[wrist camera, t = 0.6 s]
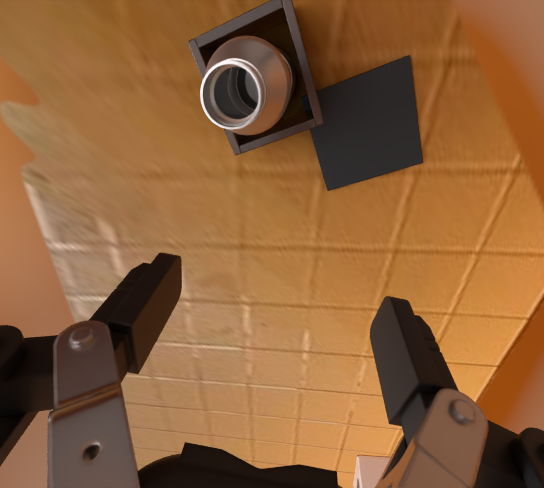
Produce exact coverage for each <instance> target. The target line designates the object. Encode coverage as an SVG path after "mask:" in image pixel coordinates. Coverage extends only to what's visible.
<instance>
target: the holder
mask: <svg viewBox="0 0 544 488" xmlns="http://www.w3.org/2000/svg"><path fill="white" fill-rule="evenodd" d="M286 20H287V22H288V26H289V29H290V33H291V36H292V40H293V44H294V47H295V51H296V55H297V58H298V62H299V65H300V69H301V73H302V76H303V80H304V84H305V87H306V91H307V94H308V98H309V102H310V105H311V109H309V110H307V111H303V112H300V113H297V114H295V115H292V116H289V117H287V118H284V119H281V120H279V121H278V122H277V123H276V124H274V125H273V126H272V127H271V128H269V129H268V130H266V131H264V132H262V133H259V134H255V135H241V134H237V133H234V132H231V131H230V130H228V129H225V128H224V130H225V133H226V135H227V137H228V140H229V142H230V145H231V147H232V149H233V152H234V154H235V155H239V154H241V153H244V152H247V151H250V150H253V149H255V148H258V147H261V146H264V145H266V144H269V143H272V142H275V141H278V140H280V139H283V138H286V137H289V136H291V135H294V134H297V133H300V132H303V131H305V130H308V129H311V128H314V127H316V126H319V125H322V124H324V120H323V116H322V113H321V109H320V105H319V101H318V97H317V94H316V90H315V86H314V82H313V78H312V75H311V71H310V67H309V63H308V59H307V55H306V52H305V48H304V44H303V40H302V36H301V33H300V29H299V25H298V21H297V17H296V14H295V10H294V6H293V2H292V0H270V1H268V2H266V3H264V4H262V5H260V6H258V7H256V8H254V9H252V10H250V11H248V12H246V13H244V14H242V15H240V16H238V17H236V18H234V19H232V20H230V21H228V22H226V23H224V24H222V25H220V26H218V27H216V28H214V29H212V30H210V31H208V32H206V33H204V34H202V35H200V36H198V37H196V38H194V39H192V40H190V41H188V45H189V47H190V50H191V52H192V54H193V57H194V59H195V62H196V64H197V66H198V69H199V71H200V73H201V76H202V78H203V79H204V77H205V72H206V68H207V65H208V63H209V60H210V59H211V57H212V56H213V54H214V52H215V51H216V50H217V49H218V48H219V47H220V46H221V45H222V44H224V43H225V42H227V41H228V40H231V39H233V38H235V37H240V36H254V35H256V34H258V33H260V32H262V31H265V30H267V29H269V28H271V27H273V26H275V25H277V24H279V23H282V22H284V21H286Z"/></svg>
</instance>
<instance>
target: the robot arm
mask: <svg viewBox="0 0 544 488" xmlns="http://www.w3.org/2000/svg"><path fill="white" fill-rule="evenodd" d="M181 288H182V268H181V257H180V256H177V255H172V254H167V253H159V254H158V255H157V256H156V258H155V259H154V260H153V262H152V263H151V264H148V263H142V264H141V265H139V266H137V267H135V268H134V269H132V270H131V271H130V272H129V273H128V274H127V276H126V277H125V278H124V279H123V281H122V282H121V283H120V284H119V285H118V286H117V289H115V290H114V291H113V292H112V293H111V295H110V296H109V297H108V298H107V299H106V300H105V302H104V303H103V304H102V305H101V306H100V307H99V309H98V310H97V311H96V312H95V313H94V315H93V316H92V317H91V318H90V319H89V320H88V321H82V322H79V323H76V324H73V325H71V326H70V327H67V328H66V329H65V330H63V331H62V332H61V333H60V334H59V335H56V336H45V337H31V338H24V337H23V335H22V333H21V331H20V330H19V329H18V328H16V327H14V326H8V325H1V326H0V466H1V464H2V463H3V461H4V460H5V459H6V457H7V456H8V454H9V453H10V451H11V450H12V449H13V447H14V446H15V445H16V443H17V442H18V440H19V439H20V437H21V436H22V435H23V433H24V432H25V430H26V429H27V427H28V426H29V425H30V423H31V422H32V420H33V419H34V417H35V416H36V414H37V413H38V412H39V411H44V410H51V409H53V411H51V412H50V413H49V416H48V487H47V488H342V487H341V486H339V485H338V482H337V472H336V471H331V470H325V469H320V468H315V467H310V466H305V465H300V464H299V465H291V466H282V467H274V468H266V469H259V468H256V467H254V466H252V465H250V464H249V463H247V462H245V461H243V460H241V459H239V458H237V457H235V456H234V455H232V454H230V453H228V452H226V451H224V450H222V449H217V448H212V447H207V446H202V445H197V444H192V443H186V442H185V444H184V447H183V450H182V453H181V454H176V455H171V456H167V457H164V458H161V459H159V460H156V461H154V462H152V463H150V464H148V465H146V466H145V467H143V468H142V469H140V470H139V471H138V468H137V463H136V458H135V453H134V448H133V443H132V438H131V433H130V428H129V423H128V418H127V412H126V407H125V402H124V397H123V392H122V387H121V382H122V380H123V379H124V377H125V375H126V374H127V372H129V373H135V374H139V372H140V370H141V368H142V367H143V365H144V363H145V361H146V359H147V357H148V356H149V354H150V352H151V350H152V348H153V346H154V345H155V343H156V341H157V339H158V337H159V335H160V333H161V332H162V330H163V328H164V326H165V324H166V322H167V321H168V319H169V317H170V315H171V313H172V311H173V310H174V308H175V306H176V304H177V302H178V300H179V297H180V294H181ZM370 340H371V345H372V349H373V354H374V358H375V363H376V367H377V372H378V376H379V381H380V385H381V390H382V394H383V399H384V403H385V408H386V412H387V417H388V421H389V424H393V425H398V426H402V429H403V433H404V435H403V436H402V437H401V439H400V441H399V443H398V445H397V447H396V448H395V450H394V452H393V454H392V456H391V458H390V460H389V462H388V464H387V466H386V468H385V470H384V472H383V473H382V475H381V477H380V479H379V481H378V483H377V485H376V487H375V488H544V431H542V430H540V429H537V428H526V429H525V430H523V431H522V432H521V433H520V434H516V433H514V432H512V431H509V430H508V429H505V428H503V427H501V426H499V425H497V424H495V423H493V422H491V421H489V420H487V419H486V416H485V415H484V413H483V411H482V410H481V409H480V407H479V406H478V405H477V404H476V403H475V402H474V401H473V400H472V399H471V398H469V397H468V396H466V395H465V394H463V393H461V392H459V390H458V388H457V386H456V384H455V382H454V380H453V377H452V375H451V373H450V371H449V368H448V366H447V364H446V362H445V360H444V357H443V355H442V353H441V352H440V349H439V346H438V344H437V342H435V338H434V335H433V333H432V331H431V329H430V327H429V326H428V325H427V324H426V323H425V321H424V320H423V319H422V318H421V317H420V316H417V315H414V313H413V310H412V308H411V305H410V303H409V301H408V300H405V299H400V298H395V297H389V296H386V297H385V298H384V300H383V302H382V304H381V306H380V308H379V310H378V312H377V314H376V316H375V318H374V320H373V322H372V325H371V329H370Z"/></svg>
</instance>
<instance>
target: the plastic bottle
mask: <svg viewBox="0 0 544 488" xmlns="http://www.w3.org/2000/svg"><path fill="white" fill-rule="evenodd" d="M295 85H296V73H295V68H294V65H293V63H292V61H291V59H290V58H289V56H288V55H287V54H286V53H285V52H284V51H283V50H281V49H280V48H278V47H275V46H273V45H272V44H270V43H269V42H267V41H266V40H264V39H261V38H258V37H255V36H240V37H235V38H233V39H231V40H228V41H227V42H225V43H224V44H222V45H221V46H220V47H219V48H218V49H217V50H216V51H215V52H214V54H213V56H212V57H211V59H210V60H209V63H208V65H207V68H206V72H205V77H204V79H203V82H202V85H201V90H200V98H201V103H202V106H203V109H204V111H205V113H206V115H207V116H208V117H209V119H210V120H211V121H212V122H213V123H215V124H216V125H218V126H219V127H222V128H225V129H228V130H230V131H231V132H234V133H237V134H241V135H255V134H259V133H262V132H264V131H266V130H268V129H269V128H271V127H272V126H273V125H274V124H276V123H277V122H278V120H279V119H280V118H281V117H282V115H283V113H284V112H285V110H286V108H287V105H288V102H289V101H290V99H291V97H292V95H293V93H294V90H295Z"/></svg>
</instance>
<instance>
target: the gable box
mask: <svg viewBox="0 0 544 488" xmlns="http://www.w3.org/2000/svg"><path fill="white" fill-rule="evenodd" d="M389 460H390V457H377V456H364V455H358V456H357V462H356V469H355V476H354V483H353V488H375V487H376V485H377V483H378V481H379V479H380V477H381V475H382V473H383V472H384V470H385V468H386V466H387V464H388V462H389Z"/></svg>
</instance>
